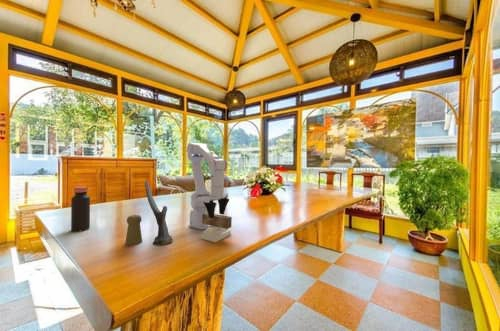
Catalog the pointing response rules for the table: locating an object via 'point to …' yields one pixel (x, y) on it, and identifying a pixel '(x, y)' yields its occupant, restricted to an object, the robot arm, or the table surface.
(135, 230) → the cork
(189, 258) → the table surface
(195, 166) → the robot arm
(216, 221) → the walnut beam
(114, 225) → the table surface
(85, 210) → the bottle
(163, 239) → the antler
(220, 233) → the ridge stand
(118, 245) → the table surface
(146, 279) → the table surface
